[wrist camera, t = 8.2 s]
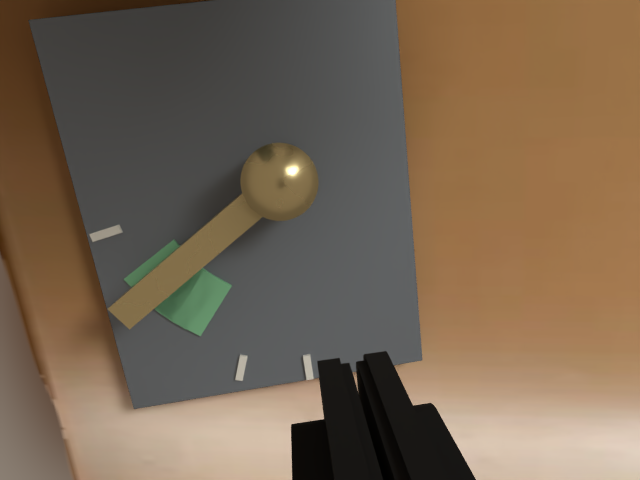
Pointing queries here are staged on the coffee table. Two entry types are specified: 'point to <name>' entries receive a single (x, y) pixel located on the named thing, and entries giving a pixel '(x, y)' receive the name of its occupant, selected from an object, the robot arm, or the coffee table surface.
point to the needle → (229, 224)
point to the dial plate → (224, 183)
